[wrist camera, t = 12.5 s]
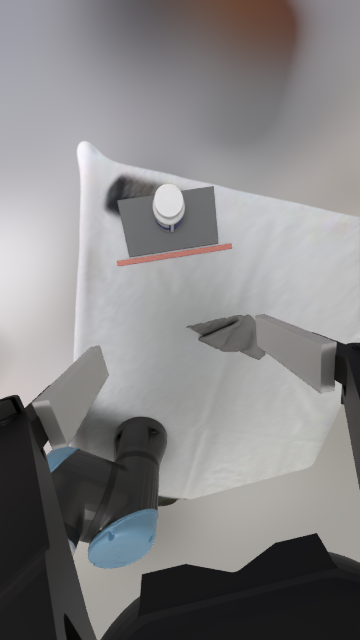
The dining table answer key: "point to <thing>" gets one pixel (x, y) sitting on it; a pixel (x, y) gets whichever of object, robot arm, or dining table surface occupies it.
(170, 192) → the pill bottle
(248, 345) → the cloth
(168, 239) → the mat
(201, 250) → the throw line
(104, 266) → the dining table surface
